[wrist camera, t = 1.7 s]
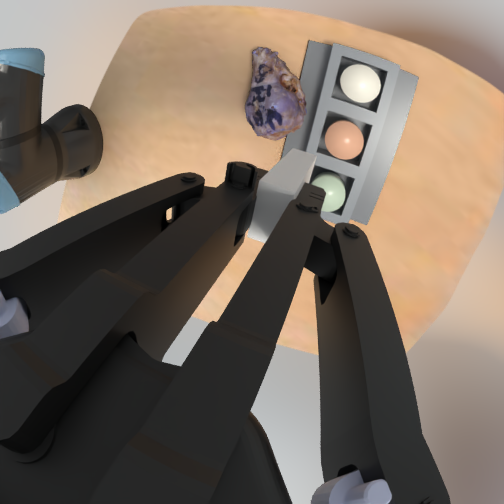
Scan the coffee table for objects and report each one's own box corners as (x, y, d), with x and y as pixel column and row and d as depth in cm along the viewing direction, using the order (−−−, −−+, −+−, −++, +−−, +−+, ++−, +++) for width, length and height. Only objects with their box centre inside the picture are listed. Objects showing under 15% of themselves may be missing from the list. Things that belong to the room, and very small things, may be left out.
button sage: (307, 197, 36) (304, 204, 34) (316, 167, 33) (314, 172, 32) (339, 208, 35) (338, 216, 34) (349, 178, 33) (350, 184, 31)
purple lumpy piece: (246, 52, 30) (223, 47, 25) (304, 45, 27) (290, 36, 22) (256, 136, 36) (235, 144, 31) (312, 135, 33) (300, 142, 28)
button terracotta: (321, 148, 32) (320, 152, 30) (331, 114, 29) (330, 116, 27) (356, 159, 31) (357, 164, 29) (366, 126, 29) (368, 129, 27)
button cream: (336, 94, 28) (336, 95, 26) (345, 61, 25) (345, 59, 23) (372, 107, 27) (374, 108, 25) (381, 73, 24) (384, 72, 23)
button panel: (274, 191, 40) (267, 201, 37) (309, 41, 27) (306, 36, 24) (366, 223, 38) (367, 235, 35) (417, 77, 25) (425, 76, 22)
